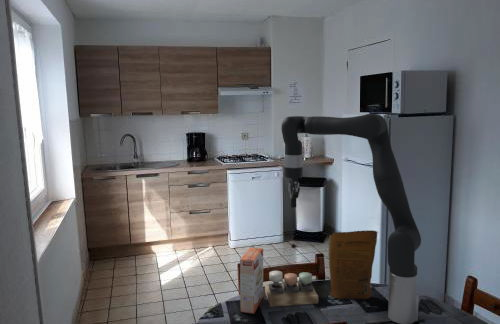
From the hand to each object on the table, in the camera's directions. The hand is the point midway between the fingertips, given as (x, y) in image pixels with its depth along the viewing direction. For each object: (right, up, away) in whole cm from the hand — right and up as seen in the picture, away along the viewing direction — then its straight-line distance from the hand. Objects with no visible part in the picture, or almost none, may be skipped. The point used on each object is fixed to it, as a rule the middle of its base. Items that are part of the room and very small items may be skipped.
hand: (293, 207), depth 168 cm
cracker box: (-17, -37, -10) cm, 42 cm away
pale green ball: (+4, -31, -4) cm, 32 cm away
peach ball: (-2, -32, -4) cm, 32 cm away
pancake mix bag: (+23, -36, -5) cm, 43 cm away
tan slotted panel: (-1, -36, -4) cm, 36 cm away
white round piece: (-8, -30, -5) cm, 32 cm away
